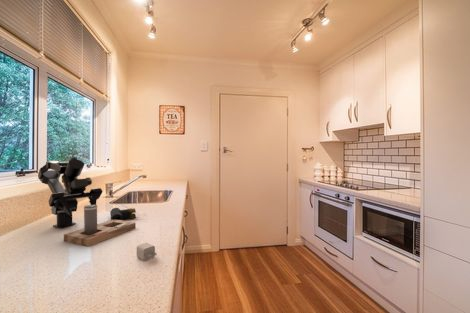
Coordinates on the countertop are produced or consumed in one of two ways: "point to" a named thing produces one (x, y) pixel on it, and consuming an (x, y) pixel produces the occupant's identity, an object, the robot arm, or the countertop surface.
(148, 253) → the usb wall charger
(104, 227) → the socket plate
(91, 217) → the grey cylinder
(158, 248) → the countertop surface
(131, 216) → the pipe connector
